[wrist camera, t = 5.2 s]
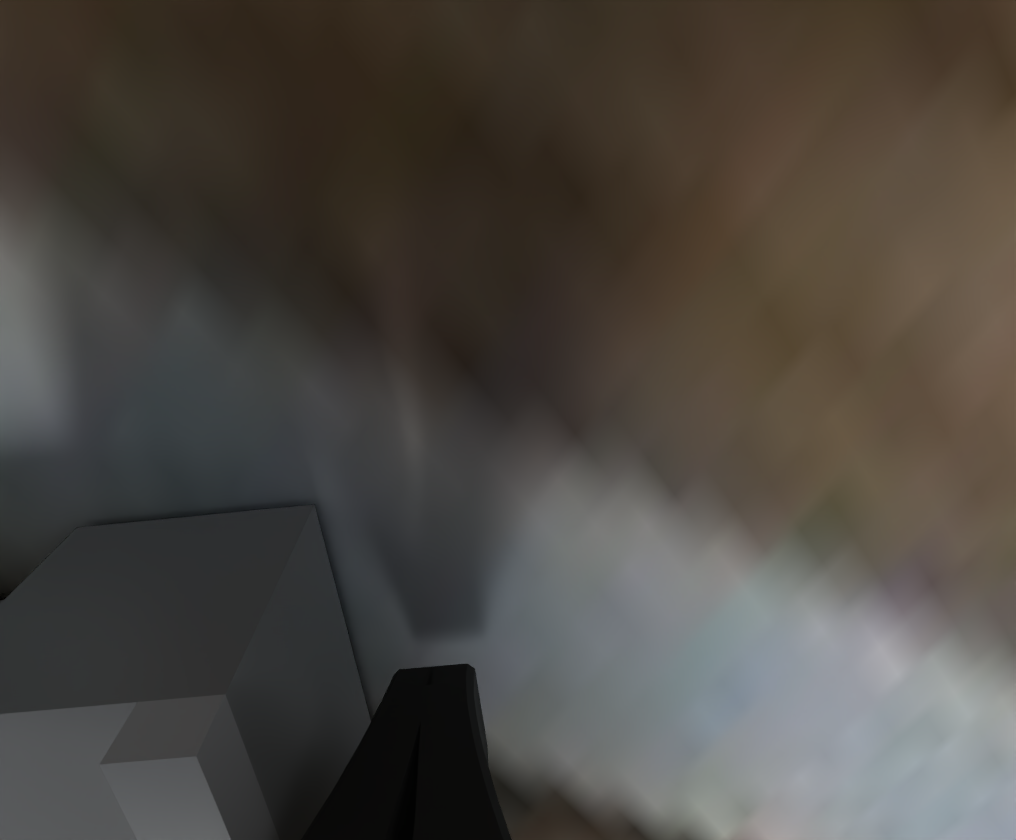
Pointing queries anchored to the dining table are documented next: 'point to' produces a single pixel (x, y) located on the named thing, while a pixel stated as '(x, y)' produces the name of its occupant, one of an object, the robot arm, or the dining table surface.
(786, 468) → the dining table surface
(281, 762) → the grey stepped block
